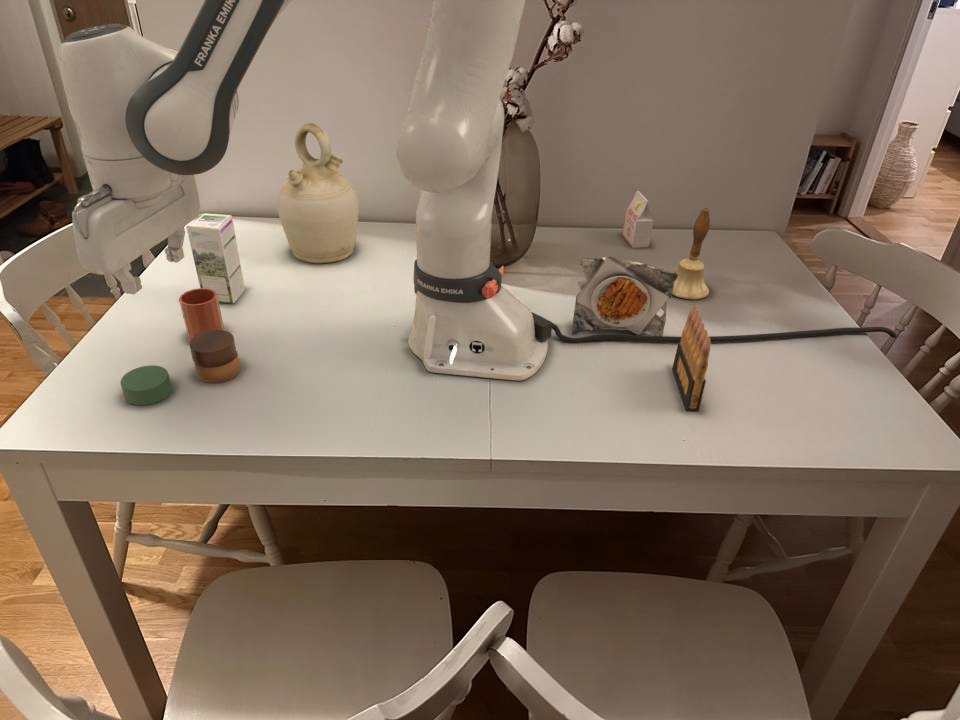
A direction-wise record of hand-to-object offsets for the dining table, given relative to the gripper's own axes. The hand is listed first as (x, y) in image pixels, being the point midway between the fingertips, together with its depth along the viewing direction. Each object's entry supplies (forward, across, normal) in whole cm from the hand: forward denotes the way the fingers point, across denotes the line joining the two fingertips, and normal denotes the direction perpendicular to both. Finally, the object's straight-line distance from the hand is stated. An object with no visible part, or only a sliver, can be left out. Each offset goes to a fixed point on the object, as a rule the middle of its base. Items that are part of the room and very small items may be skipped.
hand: (155, 275), depth 91 cm
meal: (+17, +30, -62) cm, 71 cm away
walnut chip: (+15, +4, -4) cm, 16 cm away
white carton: (+17, +70, -63) cm, 96 cm away
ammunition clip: (+17, +17, -72) cm, 76 cm away
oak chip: (+17, +4, -4) cm, 18 cm away
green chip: (+17, -4, +3) cm, 18 cm away
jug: (+18, +47, -2) cm, 50 cm away
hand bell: (+17, +50, -74) cm, 91 cm away
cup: (+17, +12, +3) cm, 22 cm away
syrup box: (+18, +25, +7) cm, 31 cm away
